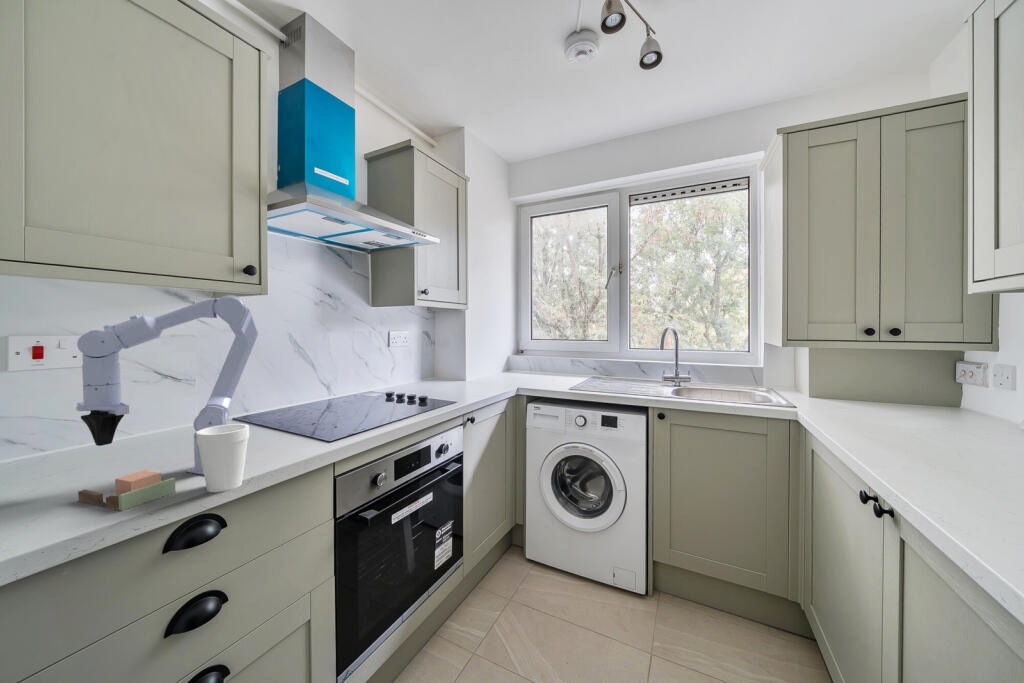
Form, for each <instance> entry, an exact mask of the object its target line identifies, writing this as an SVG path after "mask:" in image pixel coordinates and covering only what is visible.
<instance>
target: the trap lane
mask: <svg viewBox="0 0 1024 683" xmlns="http://www.w3.org/2000/svg"><path fill="white" fill-rule="evenodd" d="M77 492H78V494H77V496H78V502H81V503H85V504H89V505H95V506H99V507H102V508H108V509H112V510H116V509H117V510H116V511H120V510H124V511H126V510H125V509H127V510H129V509H131V508H130V507H132V508H134V507H133V506H135V507H137V506H136V505H138V506H140V505H139V504H141V505H143V504H145V503H144V502H146V503H148V501H149V502H152V501H154V499H155V500H157V498H158V499H160V498H163V497H166V496H168V494H169V495H171V493H172V494H174V492H175V493H176V478H175V477H171V478H167V479H164V480H161V482H158V483H155V484H152V485H148V486H145V487H142V488H139V489H136V490H133V491H130V492H127V493H123V494H120V495H119V497H118V496H116V495H114V494H112V495H109V496H106V497H105V502H104V493H103V492H98V491H94V490H88V489H82V490H79V491H77ZM165 495H166V496H165ZM162 496H163V497H162ZM151 500H152V501H151ZM142 503H143V504H142ZM128 508H129V509H128Z"/></svg>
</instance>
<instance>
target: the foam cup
mask: <svg viewBox="0 0 1024 683" xmlns="http://www.w3.org/2000/svg"><path fill="white" fill-rule="evenodd" d="M249 438H250V426H249V425H248V424H246V423H230V424H229V423H228V424H226V425H220V426H213V427H209V428H205V429H201V430H199V431H197V445H198V446H199V451H200V456H201V461H202V467H203V472H204V475H203V476H204V482H205V487H206V491H207V492H208V491H209V492H208V493H222V492H227V491H231V490H234V489H236V488H238V487H240V486H241V485H243V480H244V479H243V478H244V473H245V464H246V458H247V457H246V456H247V449H248V443H249Z"/></svg>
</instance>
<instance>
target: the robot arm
mask: <svg viewBox="0 0 1024 683" xmlns="http://www.w3.org/2000/svg"><path fill="white" fill-rule="evenodd" d="M218 317H219V318H220V319H221V320H223V321H224V322H225V323H227V324H228V327H229V328H230V329H231V331H232V332H233V334H234V335H235V337H234V339H233V342H232V344H231V347H230V349H229V350H228V353H227V356H226V358H225V361H224V363H223V364H222V368H221V370H220V372H219V375H218V377H217V380H216V381H215V384H214V386H213V389H212V391H211V394H210V396H209V398H208V401H207V402H206V405H205V406H204V407H203V408H202V409H201V410H200V411H199V413H198V415H197V416H195V418H194V419H193V420H194V421H193V429H194V431H195V433H193V449H194V451H193V454H194V457H193V459H194V466H192V467H190V468H187V469H185V472H186V473H192V474H197V475H203V476H204V472H203V467H202V461H201V456H200V451H199V446H198V445H197V431H199V430H201V429H205V428H209V427H213V426H220V425H227V421H229V420H228V419H229V416H230V415H229V406H230V403H231V402H232V399H233V396H234V394H235V392H236V389H237V387H238V384H239V382H240V379H241V377H242V375H243V373H244V371H245V368H246V365H247V363H248V360H249V357H250V355H251V353H252V350H253V348H254V346H255V343H256V340H257V338H258V335H259V331H258V329H257V326H256V322H255V320H254V317H253V314H252V311H251V309H250V308H249V306H248V305H247V304H246V303H245V301H244V300H243V299H241V298H240V297H238V296H237V295H232V294H230V295H229V294H227V295H224V296H221V297H219V298H217V297H216V298H210V299H206V300H202V301H198V302H196V303H192V304H190V305H188V306H184V307H181V308H179V309H176V310H174V311H171V312H168V313H165V314H162V315H160V316H157V317H153V316H149V315H141V316H139V315H138V314H135V315H131V316H130V317H129V320H125V321H122V322H119V323H116V324H114V325H111V324H107V325H103V330H99V329H92V330H89V331H88V332H85V333H83V334H82V335H81V336H80V337H79V338H78V340H77V343H76V346H77V348H78V350H79V352H80V353H82V365H81V368H82V369H81V370H82V372H81V373H82V397H83V398H82V399H83V400H82V401H81V402H77V403H76V407H75V410H76V411H77V412H90V413H89V414H84V415H80V419H81V420H82V421H83V423H85V425H86V426H87V428H88V430H89V431H90V433H91V436H92V438H93V441H94V444H95V446H97V447H100V446H105V445H110V444H112V443H113V440H114V437H115V434H116V430H117V428H118V425H119V424H120V422H121V421H122V419H123V417H124V416H125V415H128V414H130V405H129V404H126V403H124V402H123V401H122V392H121V365H120V364H121V363H120V358H119V357H120V351H121V350H122V349H123V350H126V349H131V348H132V347H136V346H138V345H142V344H144V343H147V342H150V341H153V340H156V339H158V338H160V337H161V335H162V332H163V331H164V330H166V329H167V330H168V329H169V328H173V327H176V326H180V325H182V324H185V323H188V322H192V321H195V320H198V319H201V318H207V319H217V318H218Z"/></svg>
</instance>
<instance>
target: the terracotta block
mask: <svg viewBox="0 0 1024 683" xmlns="http://www.w3.org/2000/svg"><path fill="white" fill-rule="evenodd" d="M161 481H162V473H161V472H158V471H153V470H146V469H144V470H141V471H137V472H134V473H130V474H127V475H124V476H121V477H117V478H114V482H115V485H114V486H115V496H118V497H119V495H120V494H123V493H127V492H130V491H133V490H136V489H139V488H142V487H145V486H148V485H152V484H155V483H158V482H161Z"/></svg>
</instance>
